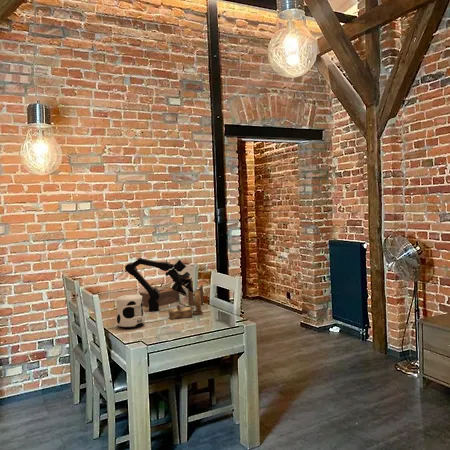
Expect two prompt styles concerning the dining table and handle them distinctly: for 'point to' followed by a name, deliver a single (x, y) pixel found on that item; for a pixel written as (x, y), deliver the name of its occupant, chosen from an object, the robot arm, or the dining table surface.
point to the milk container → (130, 311)
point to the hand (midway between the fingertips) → (189, 293)
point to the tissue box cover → (162, 296)
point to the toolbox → (184, 314)
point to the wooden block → (190, 295)
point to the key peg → (197, 300)
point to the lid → (180, 309)
